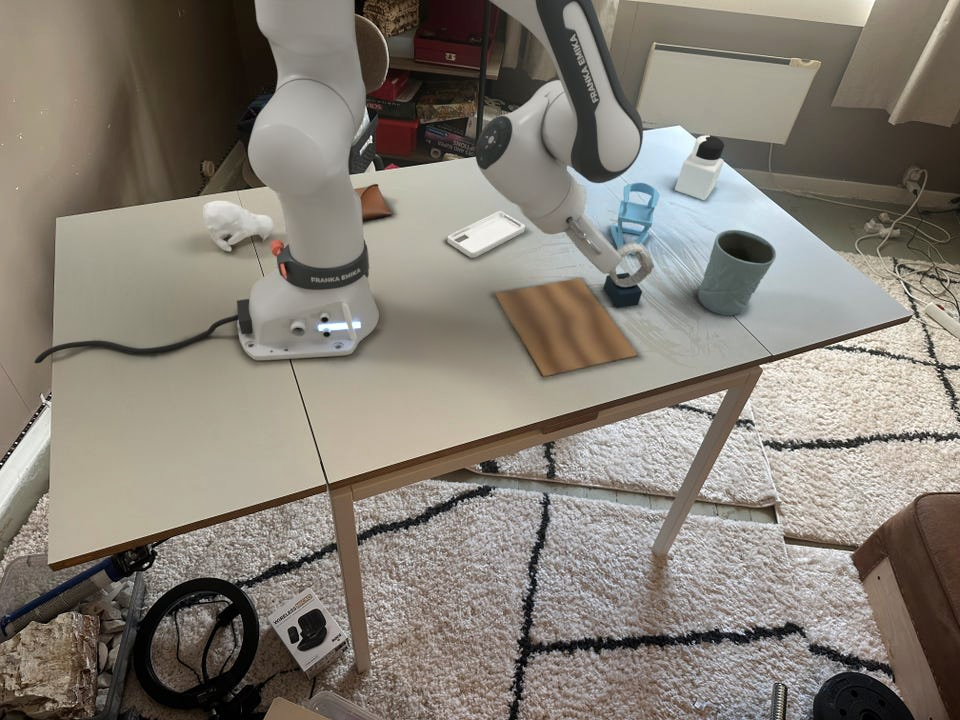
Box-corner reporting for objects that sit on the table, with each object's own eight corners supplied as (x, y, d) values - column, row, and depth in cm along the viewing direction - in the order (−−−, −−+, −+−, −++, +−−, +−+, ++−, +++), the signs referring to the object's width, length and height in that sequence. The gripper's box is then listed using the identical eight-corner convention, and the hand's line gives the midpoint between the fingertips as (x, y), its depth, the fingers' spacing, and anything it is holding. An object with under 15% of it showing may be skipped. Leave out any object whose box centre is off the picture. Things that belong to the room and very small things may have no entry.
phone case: (472, 259, 121) (525, 231, 129) (472, 253, 120) (526, 225, 128) (446, 241, 124) (499, 215, 132) (446, 236, 123) (500, 210, 131)
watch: (647, 303, 115) (664, 253, 107) (607, 309, 113) (621, 258, 105) (633, 284, 119) (648, 234, 111) (594, 290, 117) (607, 239, 109)
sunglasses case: (310, 235, 121) (300, 199, 119) (301, 234, 128) (291, 201, 125) (396, 214, 129) (388, 180, 127) (384, 214, 135) (376, 182, 133)
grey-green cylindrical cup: (683, 288, 119) (704, 233, 110) (728, 279, 122) (751, 225, 113) (715, 323, 112) (740, 267, 104) (762, 312, 115) (789, 258, 107)
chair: (606, 250, 126) (620, 196, 118) (610, 227, 132) (624, 174, 123) (645, 257, 125) (662, 203, 117) (648, 235, 131) (664, 182, 122)
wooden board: (543, 377, 100) (543, 375, 100) (495, 295, 114) (495, 293, 113) (637, 356, 105) (637, 354, 105) (580, 279, 118) (580, 278, 118)
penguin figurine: (198, 195, 114) (268, 190, 118) (205, 236, 119) (271, 230, 124) (203, 213, 110) (275, 208, 114) (209, 255, 115) (277, 248, 120)
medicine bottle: (714, 188, 147) (732, 138, 138) (704, 201, 142) (722, 150, 134) (684, 178, 149) (700, 128, 141) (674, 190, 145) (690, 140, 136)
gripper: (604, 225, 88) (647, 271, 97) (543, 156, 101) (586, 202, 111) (570, 257, 90) (616, 299, 99) (514, 184, 103) (559, 228, 113)
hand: (600, 247), depth 105 cm, fingers open, 8 cm apart
